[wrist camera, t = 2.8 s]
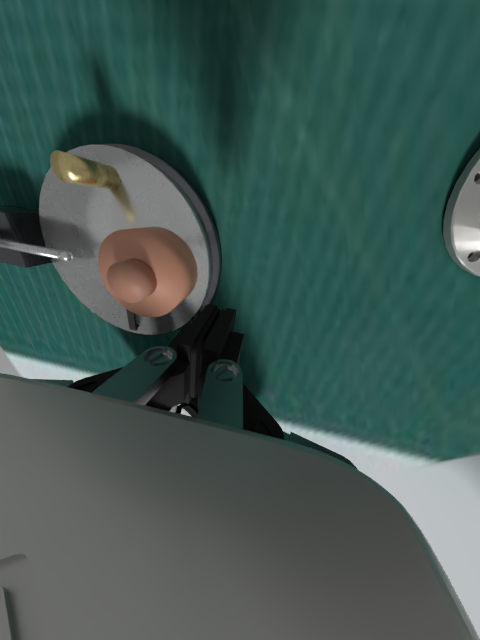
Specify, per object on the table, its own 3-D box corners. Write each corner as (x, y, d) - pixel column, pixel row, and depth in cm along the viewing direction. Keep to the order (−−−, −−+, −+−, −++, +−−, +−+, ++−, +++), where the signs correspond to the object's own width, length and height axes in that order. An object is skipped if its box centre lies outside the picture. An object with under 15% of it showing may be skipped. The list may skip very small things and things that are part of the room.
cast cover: (199, 234, 16) (170, 240, 12) (196, 308, 20) (173, 334, 16) (122, 220, 17) (68, 222, 13) (132, 294, 20) (93, 315, 16)
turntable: (220, 165, 15) (193, 142, 10) (207, 341, 24) (189, 373, 19) (28, 137, 17) (-73, 106, 12) (80, 312, 25) (33, 335, 20)
